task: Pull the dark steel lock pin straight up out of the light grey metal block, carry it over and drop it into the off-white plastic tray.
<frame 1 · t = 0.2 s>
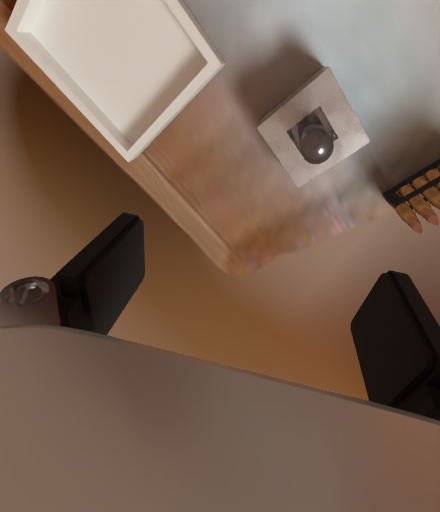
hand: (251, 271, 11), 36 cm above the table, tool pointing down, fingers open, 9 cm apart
lock pin: (309, 127, 39), point 1 cm above the table, touching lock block
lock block: (308, 125, 39), on the table
tray: (122, 47, 38), on the table
ammunition clip: (421, 176, 41), on the table
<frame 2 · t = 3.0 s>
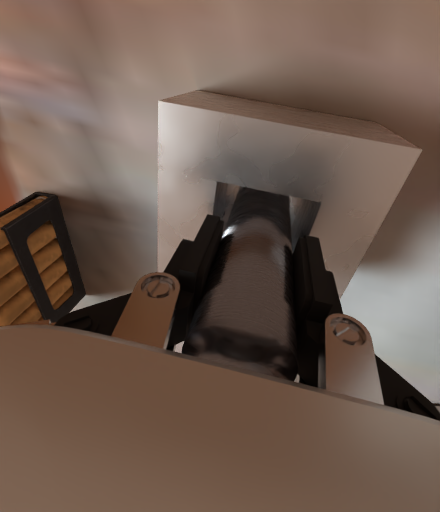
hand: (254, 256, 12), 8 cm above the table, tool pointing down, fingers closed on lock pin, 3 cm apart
lock pin: (263, 196, 17), point 1 cm above the table, touching gripper, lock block
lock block: (263, 190, 18), on the table
ammunition clip: (65, 248, 25), on the table
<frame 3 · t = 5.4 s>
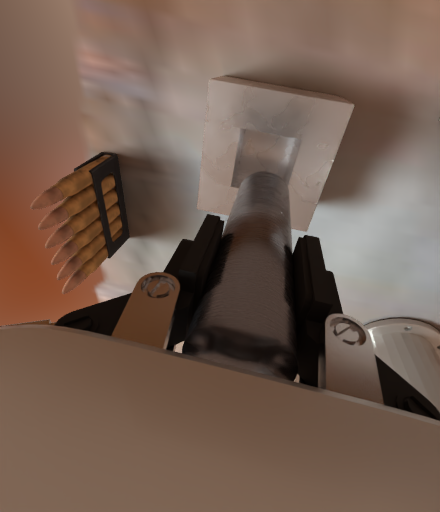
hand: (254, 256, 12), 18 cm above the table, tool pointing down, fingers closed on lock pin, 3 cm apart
lock pin: (263, 196, 17), point 12 cm above the table, touching gripper
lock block: (266, 146, 26), on the table
ammunition clip: (117, 198, 33), on the table
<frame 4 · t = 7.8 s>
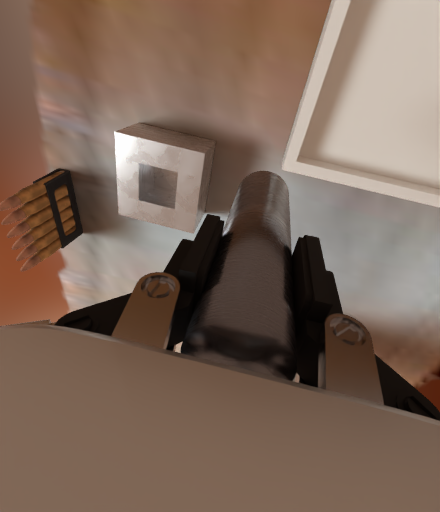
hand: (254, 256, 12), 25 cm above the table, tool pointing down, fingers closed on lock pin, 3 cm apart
lock pin: (262, 196, 17), point 19 cm above the table, touching gripper
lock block: (173, 171, 37), on the table
tray: (421, 86, 27), on the table
ammunition clip: (72, 202, 43), on the table
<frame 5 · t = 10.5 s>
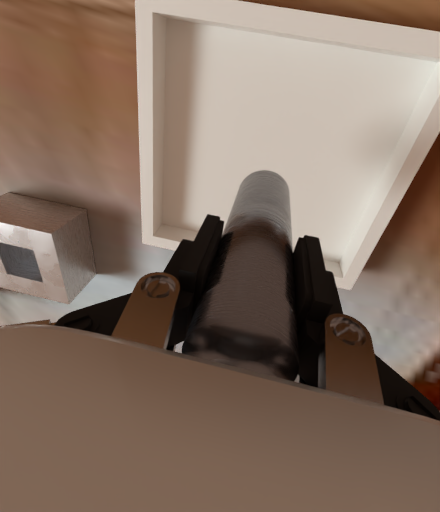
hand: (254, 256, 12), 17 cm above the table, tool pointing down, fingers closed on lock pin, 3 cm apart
lock pin: (263, 195, 17), point 10 cm above the table, touching gripper
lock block: (55, 236, 36), on the table
tray: (268, 159, 25), on the table
when the fingers open (8 cm above the table, at t = 12.7 s): lock pin stays where it is, resting on tray.
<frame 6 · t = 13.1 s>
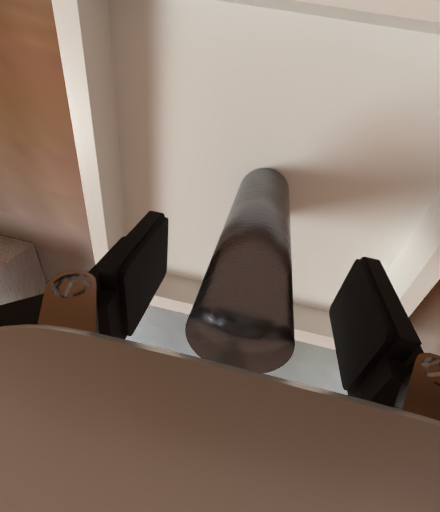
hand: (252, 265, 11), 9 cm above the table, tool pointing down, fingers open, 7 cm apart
lock pin: (263, 192, 18), point 1 cm above the table, touching tray
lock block: (1, 272, 29), on the table
tray: (264, 188, 18), on the table
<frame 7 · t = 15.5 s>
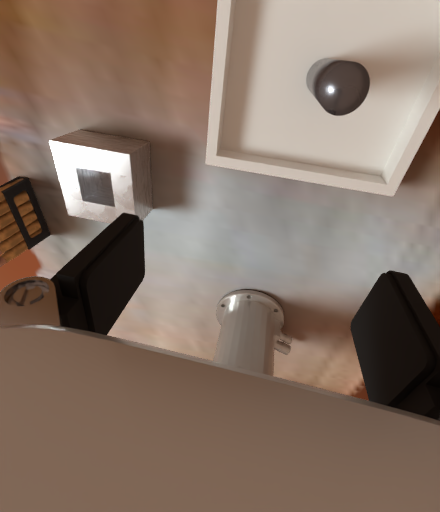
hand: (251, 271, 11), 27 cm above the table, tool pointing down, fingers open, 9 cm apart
lock pin: (322, 77, 28), point 1 cm above the table, touching tray
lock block: (118, 171, 40), on the table
tray: (321, 77, 29), on the table
ammunition clip: (36, 207, 47), on the table
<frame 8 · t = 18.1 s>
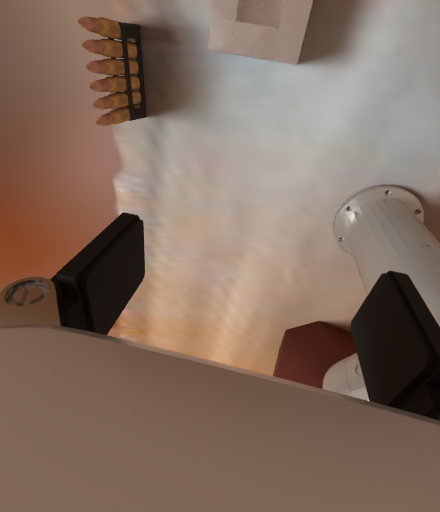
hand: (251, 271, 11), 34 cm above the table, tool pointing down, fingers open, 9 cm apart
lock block: (265, 5, 32), on the table
ammunition clip: (137, 74, 39), on the table
bucket: (313, 346, 63), on the table
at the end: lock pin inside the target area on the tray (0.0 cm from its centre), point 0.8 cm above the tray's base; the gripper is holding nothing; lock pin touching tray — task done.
